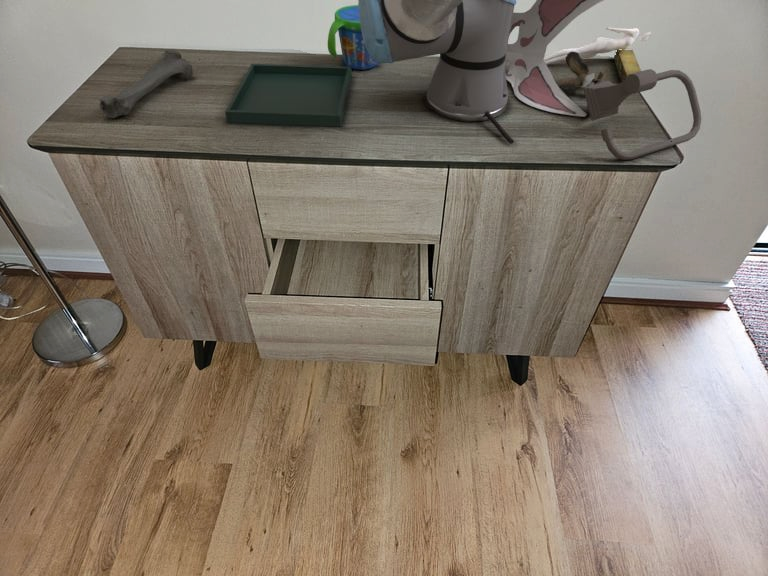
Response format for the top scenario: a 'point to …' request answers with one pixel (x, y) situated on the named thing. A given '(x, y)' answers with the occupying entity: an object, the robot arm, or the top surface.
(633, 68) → the decorative block
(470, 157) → the top surface
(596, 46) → the figurine
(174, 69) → the bone
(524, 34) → the mask
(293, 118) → the tray
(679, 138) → the toilet paper hanger
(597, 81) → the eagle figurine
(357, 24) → the sippy cup
